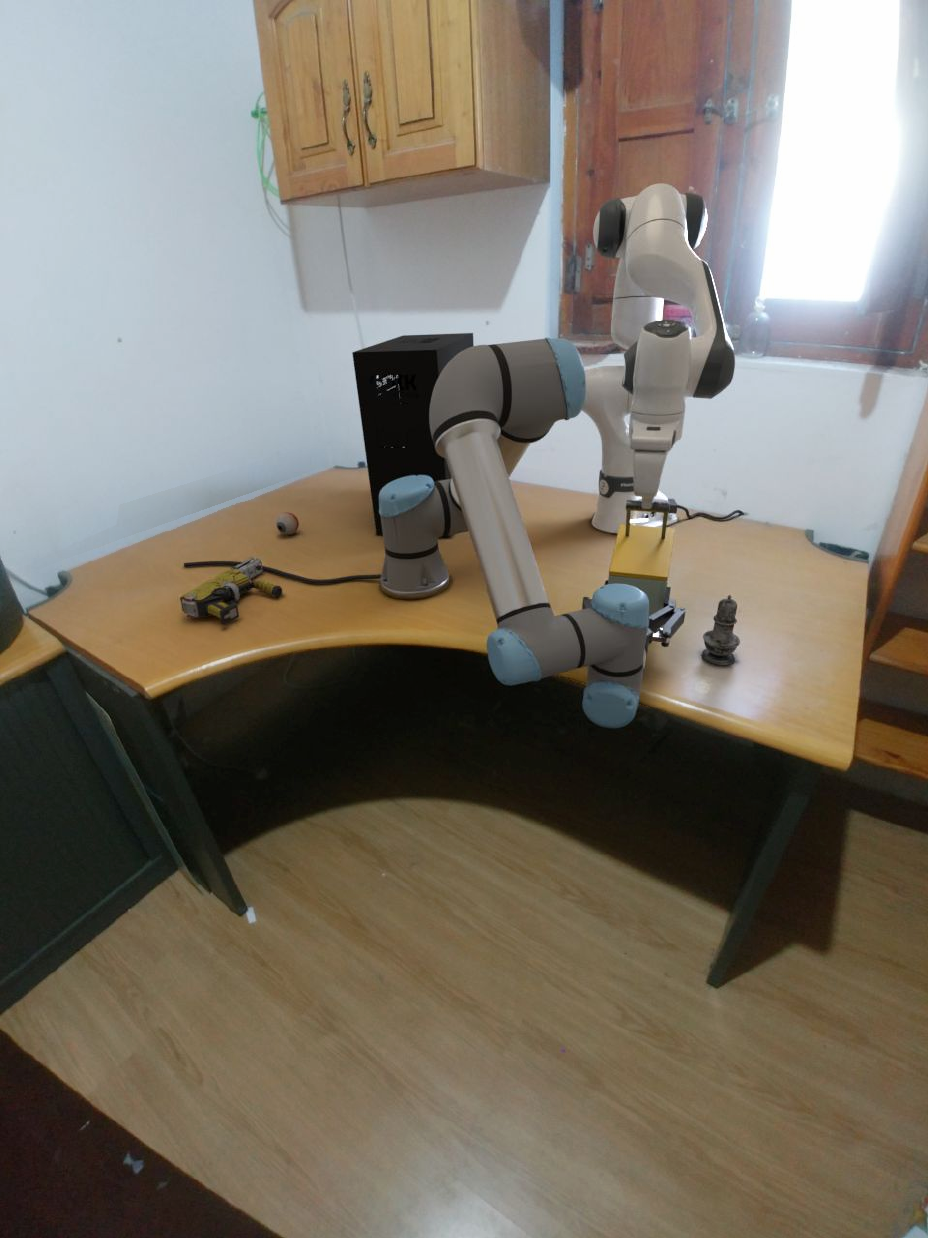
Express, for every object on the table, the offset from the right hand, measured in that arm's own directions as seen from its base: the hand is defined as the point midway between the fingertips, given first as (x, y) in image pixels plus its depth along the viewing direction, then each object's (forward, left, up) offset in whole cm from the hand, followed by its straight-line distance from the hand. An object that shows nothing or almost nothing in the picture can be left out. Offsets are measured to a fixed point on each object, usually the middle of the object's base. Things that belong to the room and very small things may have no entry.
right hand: (647, 504), depth 110 cm
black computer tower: (+14, -74, -22) cm, 79 cm away
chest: (+1, +1, -22) cm, 22 cm away
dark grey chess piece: (-1, +21, -22) cm, 30 cm away
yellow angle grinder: (+70, -45, -22) cm, 86 cm away
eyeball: (+55, -79, -22) cm, 98 cm away
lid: (+1, +1, -9) cm, 9 cm away
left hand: (+4, +4, -15) cm, 16 cm away
